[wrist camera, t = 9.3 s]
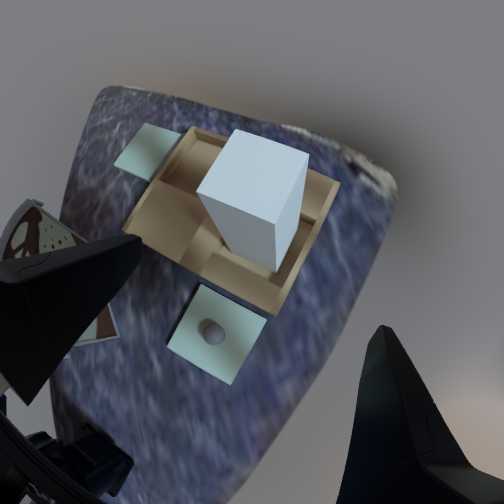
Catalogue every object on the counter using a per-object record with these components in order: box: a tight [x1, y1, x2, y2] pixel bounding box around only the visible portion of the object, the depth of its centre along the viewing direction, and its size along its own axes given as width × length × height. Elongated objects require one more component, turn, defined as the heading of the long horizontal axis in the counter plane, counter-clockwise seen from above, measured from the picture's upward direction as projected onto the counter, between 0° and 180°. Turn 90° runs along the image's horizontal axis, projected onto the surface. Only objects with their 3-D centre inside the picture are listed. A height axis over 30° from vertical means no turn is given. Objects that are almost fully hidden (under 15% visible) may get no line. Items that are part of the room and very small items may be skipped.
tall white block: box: [196, 129, 309, 274], centre depth 18 cm, size 4×4×11 cm
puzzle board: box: [114, 123, 340, 385], centre depth 24 cm, size 18×22×2 cm
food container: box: [0, 199, 121, 359], centre depth 20 cm, size 12×6×10 cm, turn 24°
